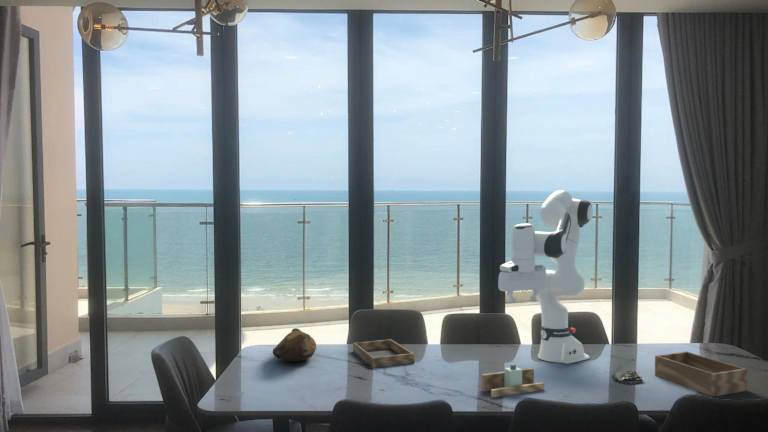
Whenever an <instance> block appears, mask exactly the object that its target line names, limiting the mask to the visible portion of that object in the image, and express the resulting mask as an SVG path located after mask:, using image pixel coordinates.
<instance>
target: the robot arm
mask: <svg viewBox="0 0 768 432" xmlns="http://www.w3.org/2000/svg"><path fill="white" fill-rule="evenodd" d="M592 216H593V205H592V203H591V202H590V201H588V200H587V199H586V200H585V199H578V198H573V197H572V195H571V194H570V193H569V192H568V191H566V190H563V189H558V190H555V191H554V192H552V193H551V194H550V195H549V196H548V197H547V198H546V199H544V201H543V202H542V205H541V206H540V209H539V218H540V220H541V221H542V223H543V224H544V225H546V226H547V227H549V228H553V229H555V231H536V230H535V227H534V224H532V223H525V222H523V223H517V224H515V225H514V226H513V229H512V234H511V251H512V254H511V260H509V261H507V262H505V263H502V264H500V266H499V270H500V272H499V274H498V279H497V281H498V282H497V283H498V284H497V287H498V290H499V291H501V292H506V294H507V296H508V298H509V303H512V304H513V303H516V298H515V297H514V295H513V294H514V292H516V291H519V292H520V291H531V292H532V294H531V295H530V301H531V302H536V301H537V300H538V302H539V303H538V304H539V306H540V310H541V325H540V338H541V339H540V346H539V351H538V354H537V358H538V359H540V360H542V361H545V362H550V363H559V364H573V363H577V362H581V361H582V362H583V361H585V360H590V356H589V354H587V353H585V351H584V346H583V344H582V342H581V341H579V340H578V339H577V338H576V337H575V336H573V335H572V333H573V334H575V333H576V331H577V329H576V328H575V327H569V312H568V309H567V307H566V306H565V305H564V304H562V303H561V302H560V301H559V299H558V296H559V297H565V298H574V297H579V296H580V295H581V294H582V293H583V292H584V290H585V287H586V286H585V284H586V283H585V280H584V278H583V276H582V275H581V274H580V273H579V272H578V270H577V267H576V263H575V261H576V256H577V255H576V254H577V250H578V246H579V242H580V235H581V234H580V230H581V228H583V227H584V226H585V225H587V224H588V223H589V222H590V221H591V219H592ZM536 257H546V258H547V257H548V258H550V260H551V261H552V262H553V263H555V265H556V266H557V267H556V270H555V269H554V270H553V269H546V267H545V266H544V265H542V264H537V265H536Z"/></svg>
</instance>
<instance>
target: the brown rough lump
mask: <svg viewBox="0 0 768 432" xmlns="http://www.w3.org/2000/svg"><path fill="white" fill-rule="evenodd" d="M284 336H285V337H283V339H282V340H281V341H280V342H279V343H278V344H277V345H276V346H275V348H273V349H272V354H273V356H274V357H275V358H277V359H283V361H284V362H287V363H294V362H303V361H305V360H308V359H310V358H311V357H313V355H314V354H315V352H316V350H317V344H316V341H315V339H314V338H313V337H312V336H311V335H310V334H309V333H306V332H304V331H302V330H301V329H300V328H297V327H296V328H295V327H294V328H292V330H291V331H290V332H289V333H287V334H286V335H284Z"/></svg>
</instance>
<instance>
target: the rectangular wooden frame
mask: <svg viewBox="0 0 768 432" xmlns="http://www.w3.org/2000/svg"><path fill="white" fill-rule="evenodd" d="M385 349H386V350H388V349H390V350H392V351H394V352H395V353H397V354H393V355H385V356H384V355H383V356H373V355H372V354H371V353H369V351H378V350H379V351H380V350H385ZM352 352H353V353H354V354H355V355H356V356H358V357H359V358H360V359H362V360H363V361H364V362H366V363H367V364H368V365H369V366H371V367H372V368H381V367H391V366H399V365H406V364H407V365H408V364H415V353H414V352H413V351H411V350H409V349H408V348H406V347H404V346H403V345H401V344H400V343H398V342H397V341H395V340H393V339H392V338H391V339H390V338H389V339H381V340H380V339H379V340H371V341H370V340H369V341H362V342H361V341H360V342H353V343H352Z"/></svg>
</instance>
